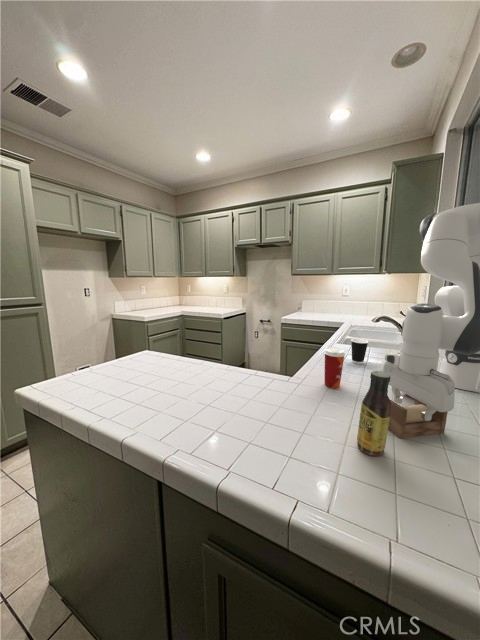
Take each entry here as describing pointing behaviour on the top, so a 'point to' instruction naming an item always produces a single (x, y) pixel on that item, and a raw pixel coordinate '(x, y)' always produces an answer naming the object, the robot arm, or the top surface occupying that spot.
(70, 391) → the top surface
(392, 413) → the holder
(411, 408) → the roll
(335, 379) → the paper cup
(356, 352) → the dixie cup
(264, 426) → the top surface
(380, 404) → the sauce bottle
